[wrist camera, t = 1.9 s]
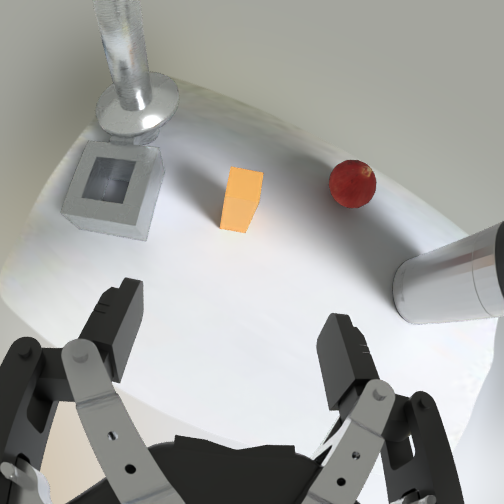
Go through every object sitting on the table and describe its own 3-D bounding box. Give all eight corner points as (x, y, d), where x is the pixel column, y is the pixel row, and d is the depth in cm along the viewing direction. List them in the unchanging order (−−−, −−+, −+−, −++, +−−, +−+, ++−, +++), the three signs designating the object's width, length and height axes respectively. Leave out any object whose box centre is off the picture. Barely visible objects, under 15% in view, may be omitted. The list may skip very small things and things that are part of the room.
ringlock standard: (189, 109, 37) (198, -103, 8) (150, 242, 32) (19, -31, 3) (124, 103, 36) (88, -87, 7) (76, 228, 31) (-94, 44, 2)
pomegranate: (315, 176, 37) (339, 144, 30) (352, 176, 38) (381, 146, 31) (325, 218, 36) (354, 191, 28) (363, 215, 37) (396, 191, 29)
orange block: (249, 209, 35) (263, 172, 26) (245, 233, 34) (259, 202, 25) (224, 204, 34) (230, 166, 26) (219, 228, 34) (224, 195, 25)
